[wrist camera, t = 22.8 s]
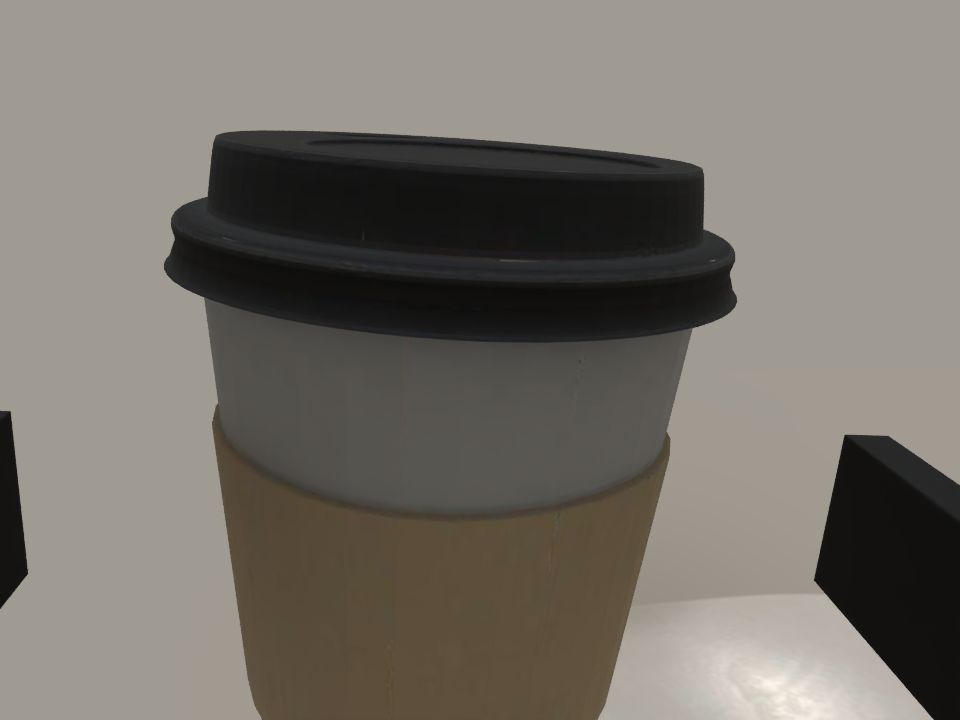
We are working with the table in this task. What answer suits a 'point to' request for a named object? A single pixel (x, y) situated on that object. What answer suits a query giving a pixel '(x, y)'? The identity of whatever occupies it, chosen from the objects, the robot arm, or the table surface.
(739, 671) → the table surface
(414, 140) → the coffee cup
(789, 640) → the table surface
